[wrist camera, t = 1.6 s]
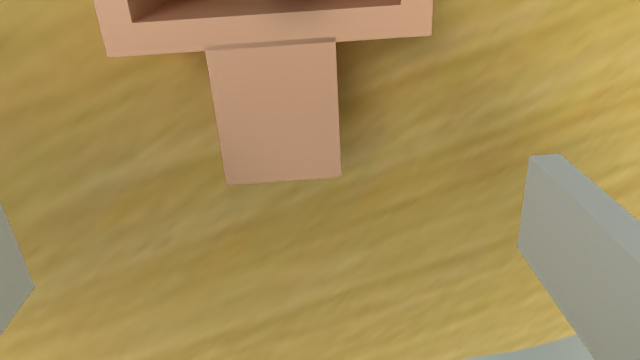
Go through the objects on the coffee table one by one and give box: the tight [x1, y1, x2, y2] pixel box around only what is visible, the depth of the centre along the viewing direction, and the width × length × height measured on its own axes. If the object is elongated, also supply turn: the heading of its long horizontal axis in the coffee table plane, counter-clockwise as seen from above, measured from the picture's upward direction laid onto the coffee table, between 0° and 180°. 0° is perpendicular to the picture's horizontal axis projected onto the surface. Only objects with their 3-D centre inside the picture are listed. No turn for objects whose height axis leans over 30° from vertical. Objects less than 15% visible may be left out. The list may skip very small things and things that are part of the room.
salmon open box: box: [93, 0, 433, 185], centre depth 23 cm, size 12×13×8 cm
